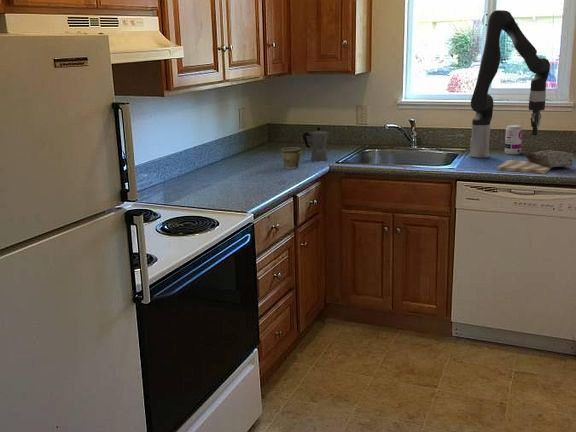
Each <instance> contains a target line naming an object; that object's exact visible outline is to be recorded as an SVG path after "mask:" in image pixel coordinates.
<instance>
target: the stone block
mask: <svg viewBox="0 0 576 432" xmlns="http://www.w3.org/2000/svg"><path fill="white" fill-rule="evenodd" d="M525 156H526V159H527V161H530V162H533V163H536V164H540V165H542V166H546V167H552V168H560V167H572V166H573V163H574V162H573V161H574V159H573V158H574V156H573V152H565V151H559V150H550V149H540V150H539V149H538V150H532V151H527V152H526V153H525Z"/></svg>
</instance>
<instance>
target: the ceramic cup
mask: <svg viewBox="0 0 576 432" xmlns="http://www.w3.org/2000/svg"><path fill="white" fill-rule="evenodd" d="M280 151H281V156H282V159H283V160H282V161H283V164H284V168H285V169H286V168H287V169H286V170H296V169H295V168H297V169H299V162H300V160H301V159H302V158H303V157H304V156H305V152H304V151H303V150H301V148H300V147H297V146H296V147H295V146H294V147H292V146H291V147H282V148H281V149H280ZM301 153H302V156H301Z"/></svg>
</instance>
